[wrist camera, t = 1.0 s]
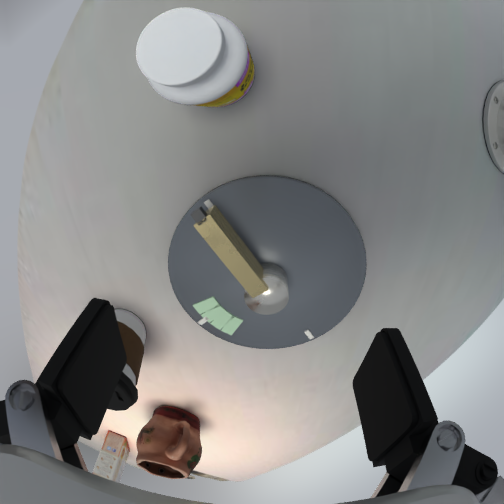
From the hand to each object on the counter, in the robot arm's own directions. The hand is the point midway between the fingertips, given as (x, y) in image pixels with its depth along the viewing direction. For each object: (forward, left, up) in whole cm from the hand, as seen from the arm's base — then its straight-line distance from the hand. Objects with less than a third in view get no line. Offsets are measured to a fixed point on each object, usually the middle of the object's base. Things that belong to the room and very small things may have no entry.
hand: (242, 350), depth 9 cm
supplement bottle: (-3, -12, -21) cm, 24 cm away
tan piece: (+5, +4, -19) cm, 20 cm away
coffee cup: (+27, +5, -21) cm, 34 cm away
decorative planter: (+38, +27, -21) cm, 51 cm away
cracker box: (+74, +36, -21) cm, 85 cm away
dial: (+5, +8, -21) cm, 23 cm away
